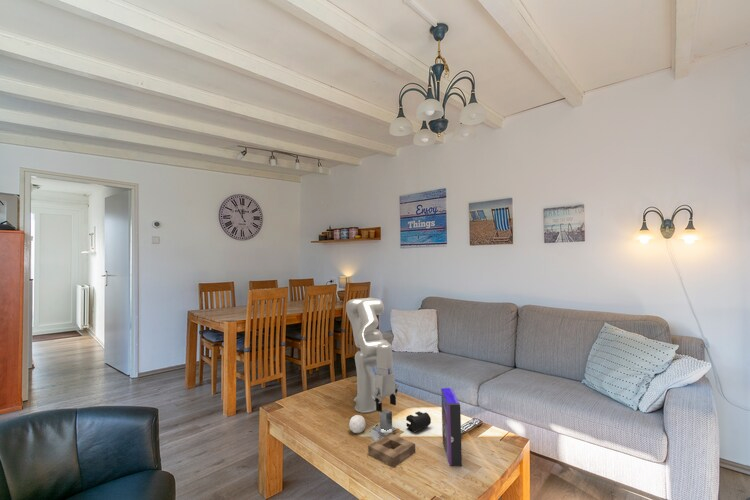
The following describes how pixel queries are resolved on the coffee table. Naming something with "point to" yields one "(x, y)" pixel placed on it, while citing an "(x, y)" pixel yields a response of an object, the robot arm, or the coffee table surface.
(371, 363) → the robot arm
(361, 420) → the geometric ball
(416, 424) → the end cap
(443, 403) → the cereal box
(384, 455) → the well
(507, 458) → the coffee table surface
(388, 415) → the grey rectangular block
